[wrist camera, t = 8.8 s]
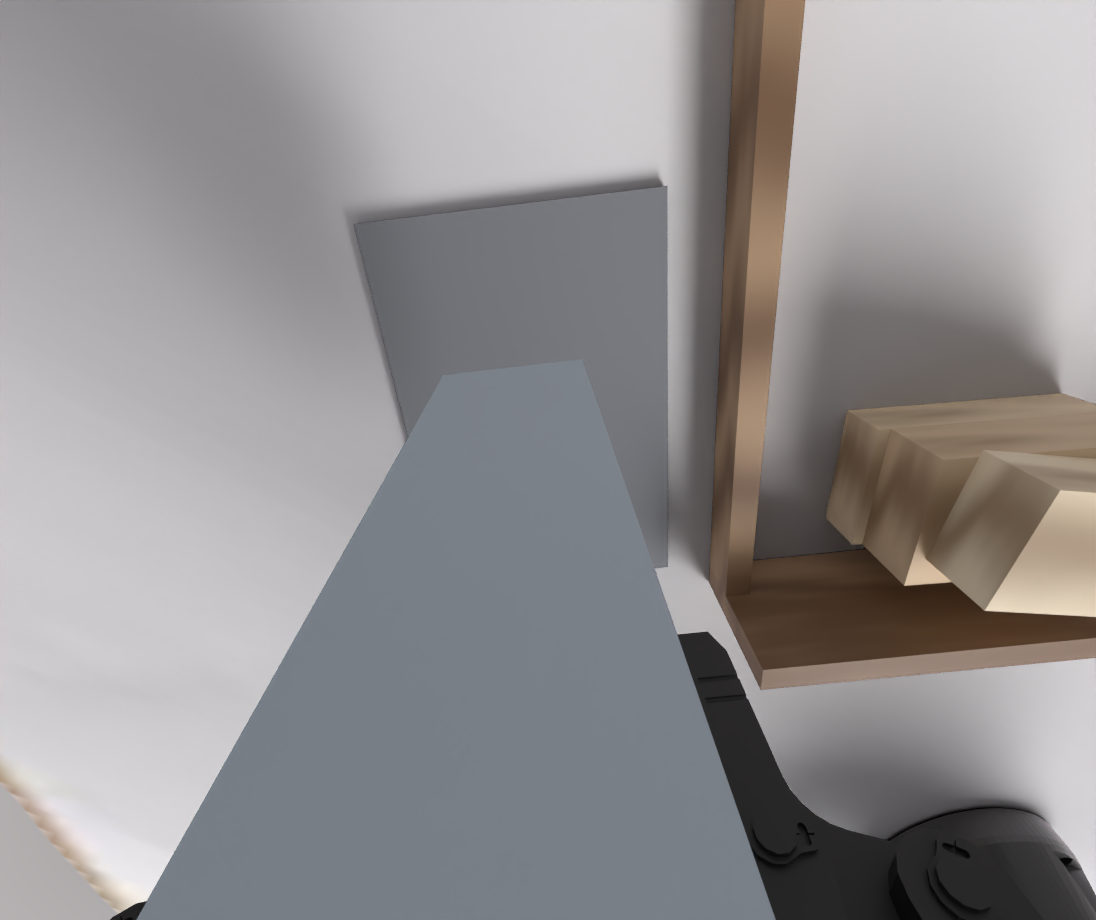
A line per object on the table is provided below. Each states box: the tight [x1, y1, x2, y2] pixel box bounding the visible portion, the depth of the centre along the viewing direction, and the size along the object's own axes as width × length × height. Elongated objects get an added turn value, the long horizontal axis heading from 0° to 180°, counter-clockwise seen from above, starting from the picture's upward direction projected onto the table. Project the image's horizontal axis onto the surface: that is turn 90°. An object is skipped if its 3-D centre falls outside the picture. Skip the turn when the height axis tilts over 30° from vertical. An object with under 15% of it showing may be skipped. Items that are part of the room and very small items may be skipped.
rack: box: [709, 0, 1096, 690], centre depth 18 cm, size 26×22×7 cm
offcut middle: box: [862, 413, 1096, 586], centre depth 21 cm, size 6×9×3 cm, turn 94°
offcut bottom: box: [826, 393, 1096, 545], centre depth 24 cm, size 6×10×3 cm, turn 94°
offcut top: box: [926, 450, 1096, 617], centre depth 18 cm, size 5×7×3 cm
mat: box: [354, 186, 668, 568], centre depth 23 cm, size 18×12×1 cm, turn 6°
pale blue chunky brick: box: [137, 359, 776, 920], centre depth 9 cm, size 10×4×12 cm, turn 6°
